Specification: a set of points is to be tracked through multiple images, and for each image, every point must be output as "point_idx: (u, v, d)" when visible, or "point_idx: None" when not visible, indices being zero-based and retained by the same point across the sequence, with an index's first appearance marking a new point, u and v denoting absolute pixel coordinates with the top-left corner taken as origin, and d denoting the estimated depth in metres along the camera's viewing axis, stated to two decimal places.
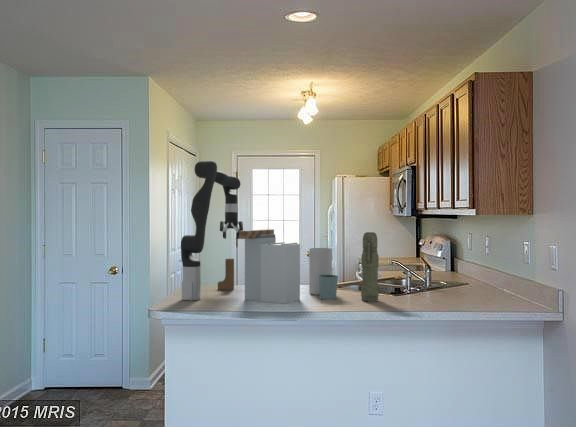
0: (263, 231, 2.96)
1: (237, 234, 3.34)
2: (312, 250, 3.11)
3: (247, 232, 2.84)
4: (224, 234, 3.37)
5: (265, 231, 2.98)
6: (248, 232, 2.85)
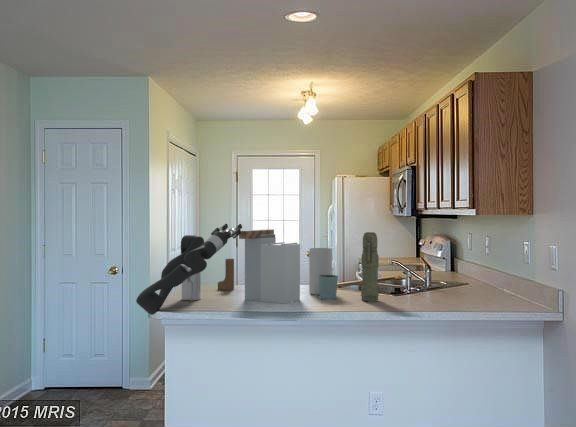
0: (263, 231, 2.96)
1: None
2: (312, 250, 3.11)
3: (247, 232, 2.84)
4: (225, 229, 2.79)
5: (265, 231, 2.98)
6: (248, 232, 2.85)
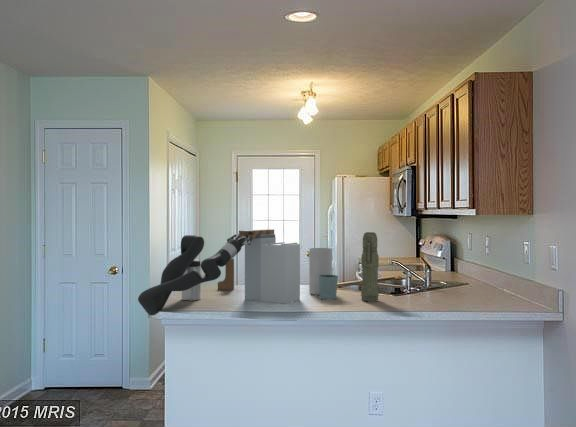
0: (263, 231, 2.96)
1: None
2: (312, 250, 3.11)
3: (247, 232, 2.84)
4: None
5: (265, 231, 2.98)
6: (248, 232, 2.85)
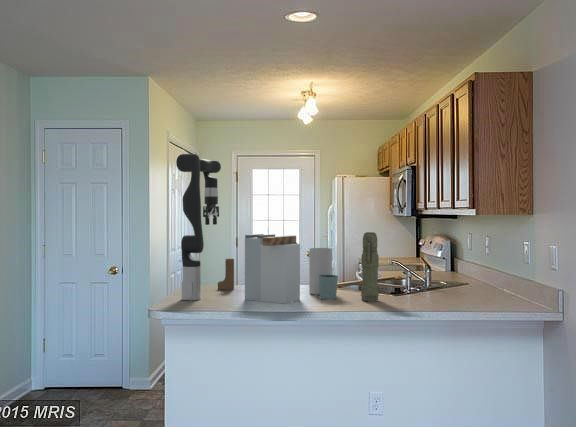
0: (286, 237, 2.90)
1: (216, 219, 3.24)
2: (312, 250, 3.11)
3: (271, 239, 2.78)
4: None
5: (288, 237, 2.92)
6: (272, 239, 2.78)
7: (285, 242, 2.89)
